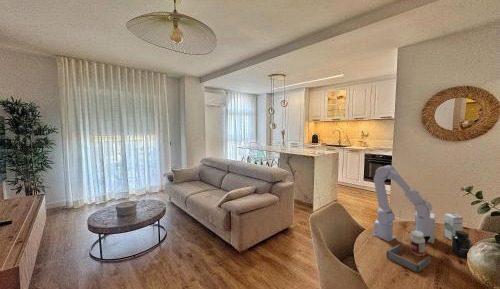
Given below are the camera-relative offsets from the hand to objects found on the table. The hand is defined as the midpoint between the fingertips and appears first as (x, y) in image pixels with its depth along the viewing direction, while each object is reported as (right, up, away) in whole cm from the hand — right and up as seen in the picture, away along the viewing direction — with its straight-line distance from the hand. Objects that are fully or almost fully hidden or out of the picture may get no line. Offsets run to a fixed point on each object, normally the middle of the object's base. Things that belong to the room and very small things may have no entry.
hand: (422, 248), depth 114 cm
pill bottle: (-4, -1, -2) cm, 4 cm away
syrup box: (+28, 0, +11) cm, 30 cm away
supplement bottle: (+17, -2, -4) cm, 17 cm away
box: (-13, -2, -8) cm, 15 cm away
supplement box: (+12, -1, +13) cm, 18 cm away
